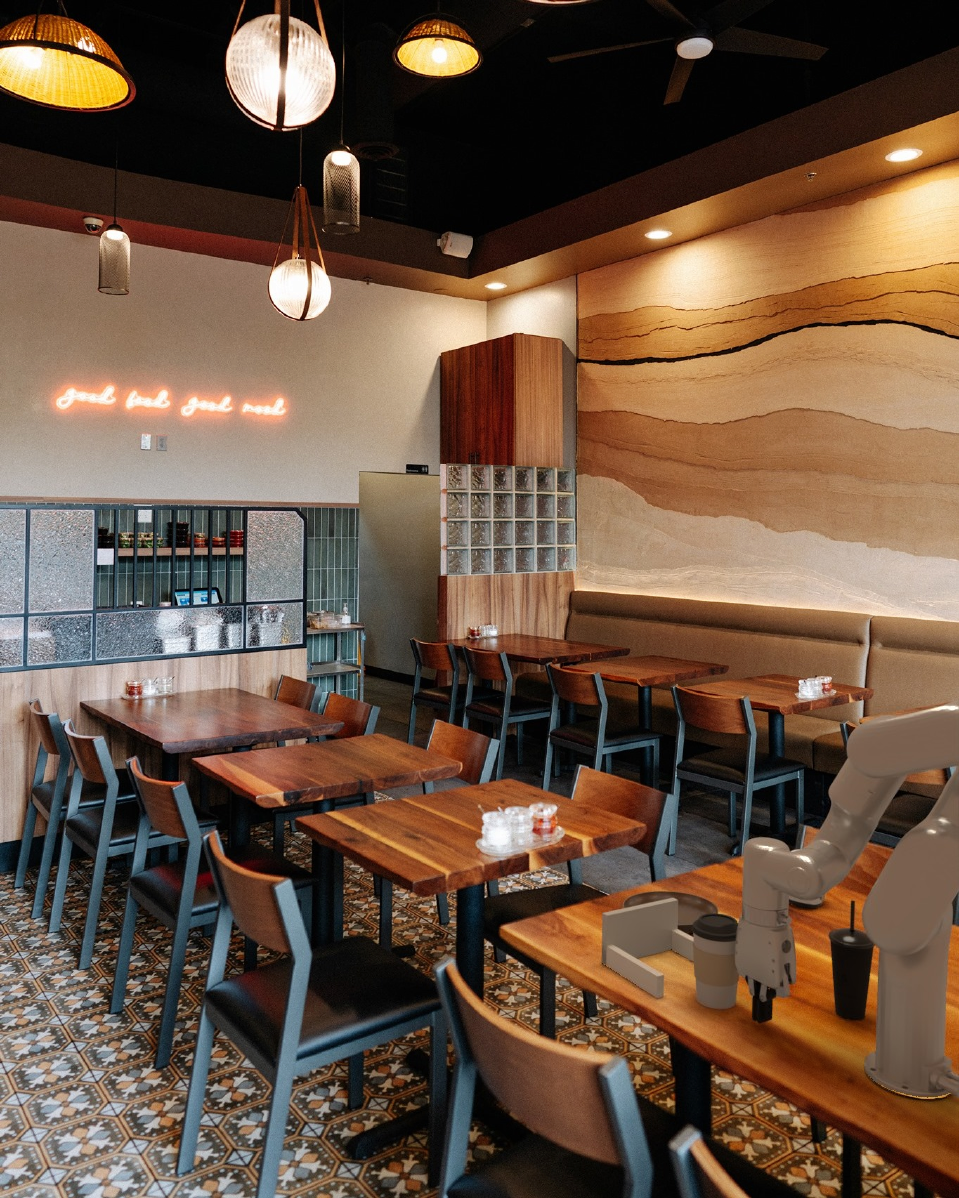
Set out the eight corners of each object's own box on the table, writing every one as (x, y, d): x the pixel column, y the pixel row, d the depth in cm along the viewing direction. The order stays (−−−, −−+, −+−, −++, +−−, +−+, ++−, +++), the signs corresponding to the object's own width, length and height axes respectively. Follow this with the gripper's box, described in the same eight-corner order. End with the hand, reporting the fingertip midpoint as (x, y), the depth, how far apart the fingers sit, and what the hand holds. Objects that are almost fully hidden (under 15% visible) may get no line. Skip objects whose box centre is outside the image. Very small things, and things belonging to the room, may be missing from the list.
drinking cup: (834, 999, 168) (837, 890, 167) (879, 1012, 163) (882, 900, 162) (820, 1015, 162) (823, 901, 161) (865, 1029, 157) (868, 912, 156)
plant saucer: (603, 920, 204) (603, 905, 204) (656, 897, 219) (657, 883, 219) (684, 948, 190) (685, 932, 190) (736, 921, 205) (736, 906, 205)
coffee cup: (680, 993, 169) (681, 912, 169) (719, 984, 173) (721, 905, 172) (712, 1016, 161) (714, 930, 160) (753, 1006, 165) (755, 922, 164)
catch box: (730, 977, 176) (731, 925, 176) (657, 998, 167) (658, 943, 167) (672, 945, 191) (673, 897, 190) (601, 963, 182) (602, 912, 181)
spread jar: (809, 913, 209) (810, 862, 209) (763, 899, 218) (765, 850, 217) (834, 900, 217) (835, 851, 217) (790, 888, 226) (791, 840, 225)
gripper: (816, 924, 152) (812, 1034, 153) (748, 895, 165) (745, 996, 166) (783, 933, 148) (780, 1045, 149) (716, 902, 161) (714, 1006, 162)
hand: (761, 1019), depth 157 cm, fingers closed
